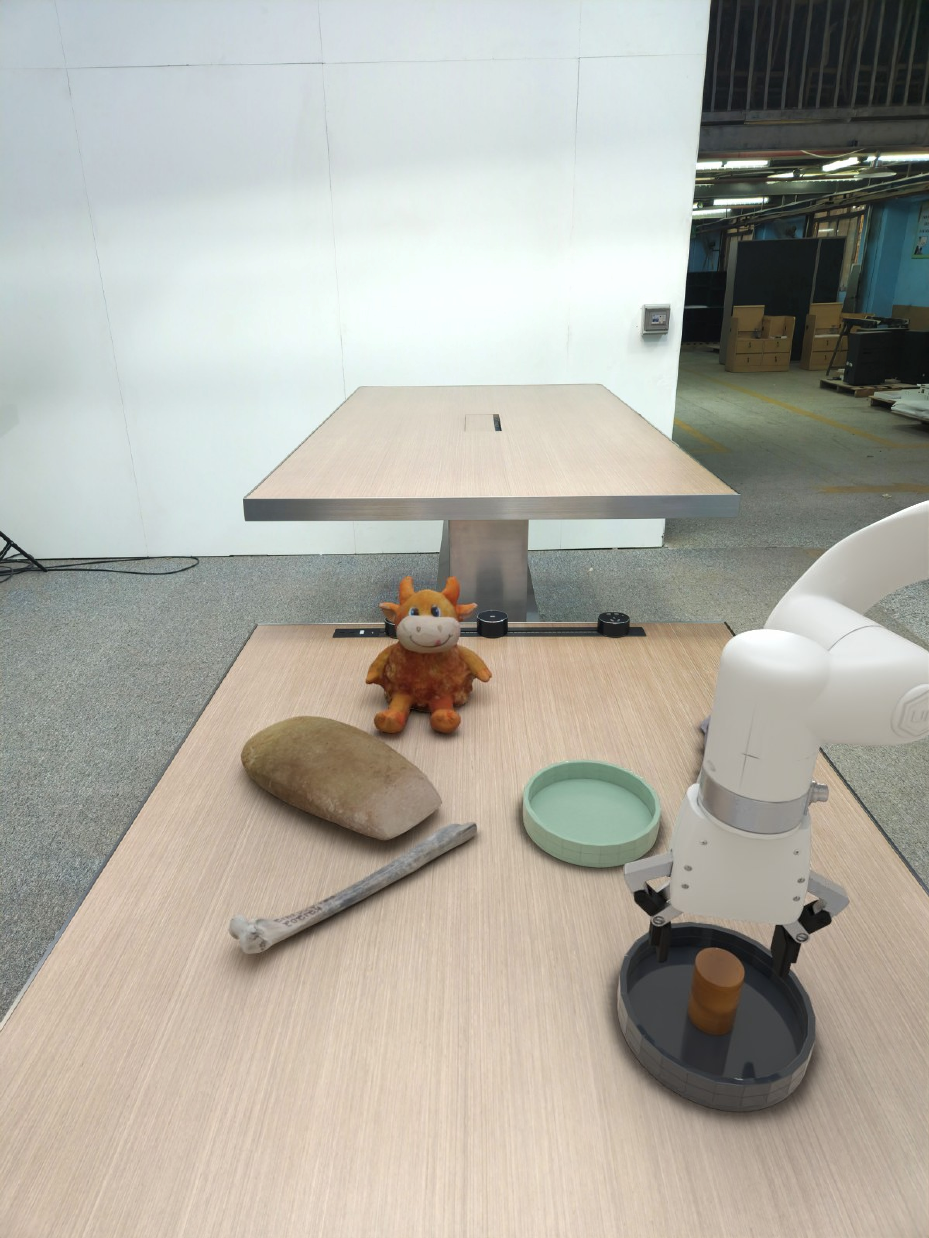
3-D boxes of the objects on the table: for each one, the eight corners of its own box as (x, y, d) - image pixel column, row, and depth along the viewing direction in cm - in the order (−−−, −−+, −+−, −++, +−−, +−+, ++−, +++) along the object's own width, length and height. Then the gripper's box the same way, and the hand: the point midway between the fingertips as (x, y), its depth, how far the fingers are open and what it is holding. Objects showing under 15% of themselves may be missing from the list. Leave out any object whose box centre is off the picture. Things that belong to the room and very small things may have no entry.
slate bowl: (831, 1006, 68) (838, 981, 66) (772, 1156, 56) (779, 1129, 55) (664, 919, 77) (667, 896, 76) (583, 1033, 65) (586, 1007, 64)
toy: (333, 723, 105) (363, 555, 111) (379, 742, 125) (401, 600, 132) (467, 738, 101) (489, 563, 107) (491, 755, 121) (508, 608, 128)
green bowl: (680, 812, 92) (683, 791, 91) (617, 889, 81) (619, 866, 79) (567, 764, 102) (568, 745, 100) (496, 827, 90) (496, 806, 89)
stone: (372, 830, 81) (376, 873, 83) (460, 764, 91) (461, 804, 94) (211, 736, 98) (218, 773, 101) (300, 690, 109) (305, 725, 111)
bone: (459, 823, 91) (458, 789, 89) (482, 842, 88) (482, 808, 86) (230, 948, 74) (223, 910, 72) (249, 977, 71) (242, 938, 69)
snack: (741, 1011, 67) (751, 963, 64) (724, 1044, 64) (734, 994, 61) (698, 987, 69) (706, 939, 66) (679, 1018, 66) (687, 969, 64)
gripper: (857, 772, 58) (814, 934, 65) (631, 752, 61) (613, 911, 68) (892, 837, 52) (840, 1009, 59) (637, 811, 54) (616, 980, 61)
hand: (718, 956), depth 63 cm, fingers open, 9 cm apart
